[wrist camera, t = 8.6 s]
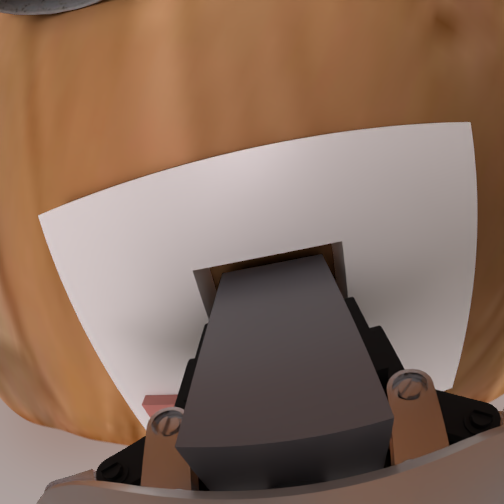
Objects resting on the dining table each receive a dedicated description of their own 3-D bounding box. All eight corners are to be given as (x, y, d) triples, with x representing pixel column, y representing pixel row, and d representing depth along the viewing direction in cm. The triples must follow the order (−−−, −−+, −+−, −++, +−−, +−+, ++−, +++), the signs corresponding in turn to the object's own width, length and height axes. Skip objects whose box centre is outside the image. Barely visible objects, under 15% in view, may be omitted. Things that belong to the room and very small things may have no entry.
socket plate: (440, 122, 11) (480, 122, 8) (436, 362, 16) (456, 395, 13) (67, 203, 13) (28, 220, 10) (161, 411, 17) (149, 446, 14)
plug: (321, 254, 12) (420, 490, 3) (333, 351, 13) (380, 546, 4) (222, 273, 12) (157, 516, 3) (250, 366, 14) (237, 563, 5)
